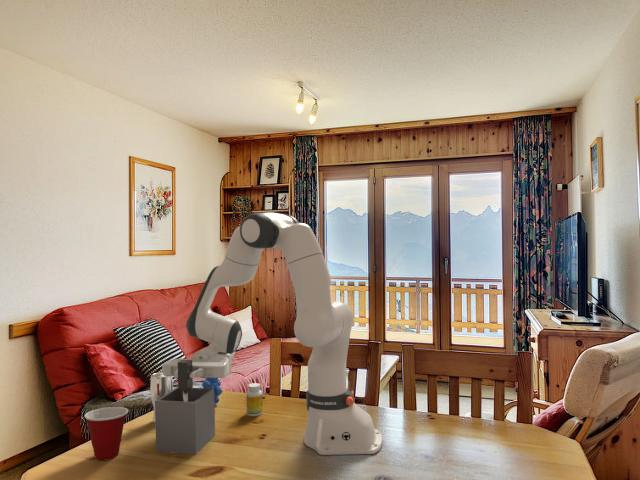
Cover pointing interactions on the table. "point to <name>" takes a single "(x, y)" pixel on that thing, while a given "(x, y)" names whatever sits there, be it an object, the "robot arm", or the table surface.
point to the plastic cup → (106, 431)
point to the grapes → (213, 387)
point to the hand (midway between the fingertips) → (183, 376)
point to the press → (184, 421)
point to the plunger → (184, 378)
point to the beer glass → (160, 387)
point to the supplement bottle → (254, 400)
